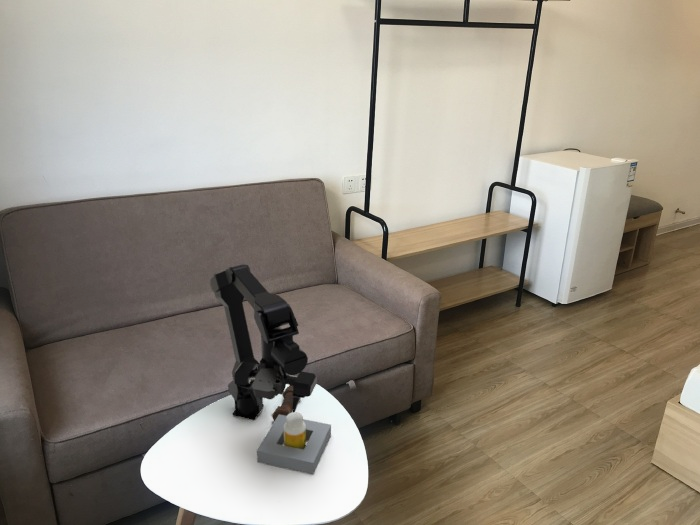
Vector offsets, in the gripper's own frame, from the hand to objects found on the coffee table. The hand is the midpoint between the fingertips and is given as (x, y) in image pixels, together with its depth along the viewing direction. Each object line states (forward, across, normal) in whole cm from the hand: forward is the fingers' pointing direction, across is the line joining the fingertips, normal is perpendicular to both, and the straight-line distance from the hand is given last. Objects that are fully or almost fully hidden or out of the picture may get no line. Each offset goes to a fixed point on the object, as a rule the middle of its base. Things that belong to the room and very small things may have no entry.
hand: (275, 408), depth 137 cm
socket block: (+12, +5, +1) cm, 13 cm away
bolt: (+12, -2, +15) cm, 20 cm away
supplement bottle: (+12, +4, +1) cm, 13 cm away
